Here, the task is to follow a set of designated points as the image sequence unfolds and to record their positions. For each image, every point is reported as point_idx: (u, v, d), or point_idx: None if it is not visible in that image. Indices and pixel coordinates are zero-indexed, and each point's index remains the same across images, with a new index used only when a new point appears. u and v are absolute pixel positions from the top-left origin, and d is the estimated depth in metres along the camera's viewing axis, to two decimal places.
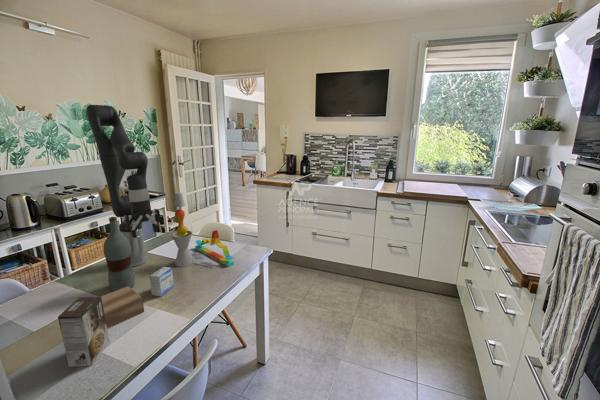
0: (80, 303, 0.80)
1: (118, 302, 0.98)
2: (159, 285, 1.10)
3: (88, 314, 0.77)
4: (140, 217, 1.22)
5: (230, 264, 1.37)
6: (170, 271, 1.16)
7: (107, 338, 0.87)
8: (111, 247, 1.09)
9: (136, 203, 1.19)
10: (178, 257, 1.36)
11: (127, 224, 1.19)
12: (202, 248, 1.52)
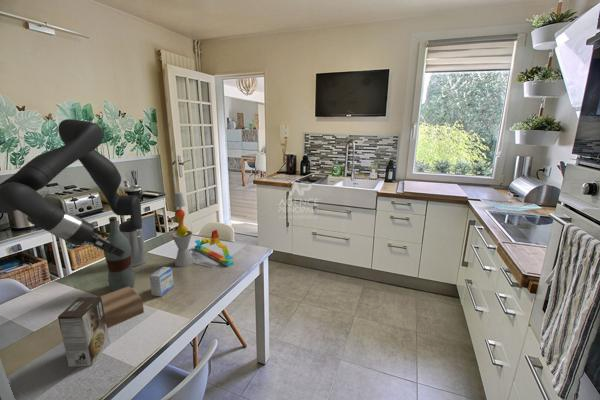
0: (80, 303, 0.80)
1: (118, 302, 0.98)
2: (159, 285, 1.10)
3: (88, 314, 0.77)
4: None
5: (230, 264, 1.37)
6: (170, 271, 1.16)
7: (107, 338, 0.87)
8: None
9: None
10: (178, 257, 1.36)
11: None
12: (202, 248, 1.53)
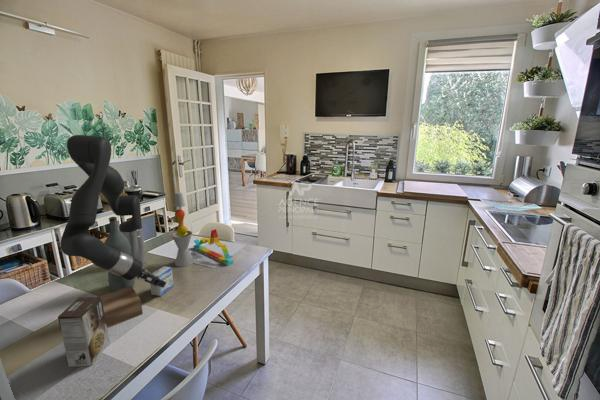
0: (80, 303, 0.80)
1: (117, 302, 0.98)
2: None
3: (88, 314, 0.77)
4: None
5: (229, 263, 1.38)
6: (170, 271, 1.16)
7: (107, 338, 0.87)
8: (111, 247, 1.09)
9: None
10: (178, 257, 1.36)
11: None
12: (200, 247, 1.53)
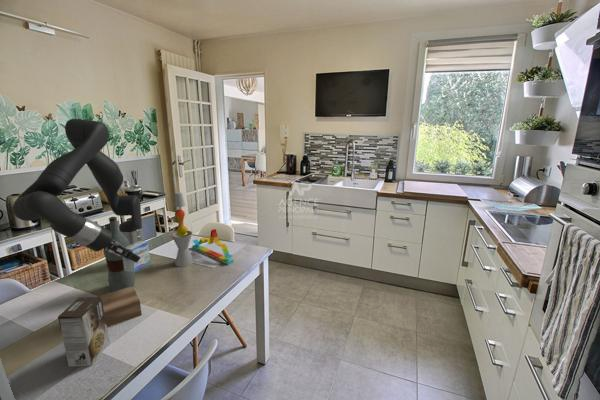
0: (80, 303, 0.80)
1: (117, 302, 0.98)
2: None
3: (88, 314, 0.77)
4: (105, 249, 0.96)
5: (230, 262, 1.39)
6: (146, 245, 1.06)
7: (107, 338, 0.87)
8: None
9: None
10: (178, 257, 1.36)
11: None
12: (200, 247, 1.53)
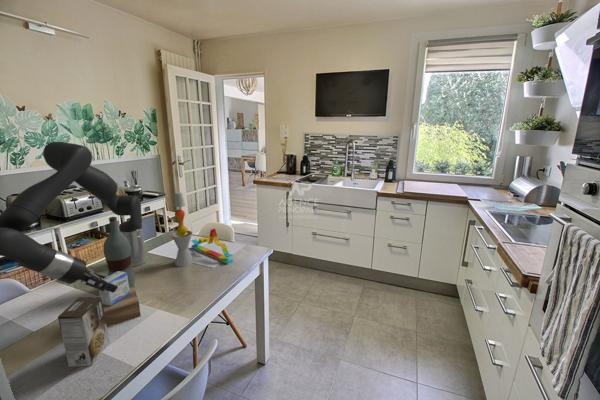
0: (80, 303, 0.80)
1: (116, 303, 0.98)
2: (108, 293, 0.95)
3: (88, 314, 0.77)
4: None
5: (229, 261, 1.40)
6: (124, 276, 1.00)
7: (107, 338, 0.87)
8: (111, 247, 1.09)
9: None
10: (178, 257, 1.36)
11: None
12: (199, 247, 1.54)
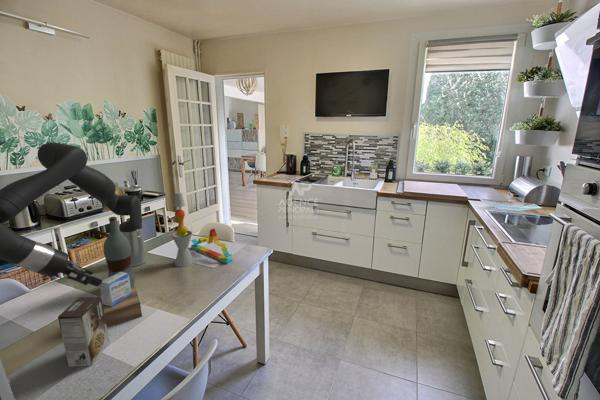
0: (80, 303, 0.80)
1: (117, 304, 0.98)
2: (109, 294, 0.95)
3: (88, 314, 0.77)
4: None
5: (229, 261, 1.40)
6: (126, 277, 1.00)
7: (107, 338, 0.87)
8: (111, 247, 1.09)
9: None
10: (178, 257, 1.36)
11: None
12: (199, 247, 1.54)
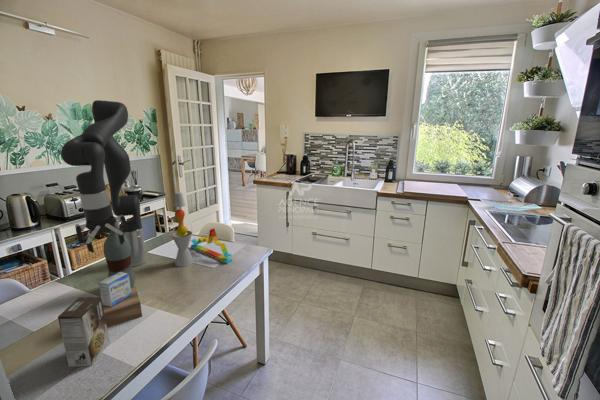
0: (80, 303, 0.80)
1: (118, 304, 0.98)
2: (109, 294, 0.94)
3: (88, 314, 0.77)
4: (97, 228, 0.93)
5: (229, 261, 1.40)
6: (126, 278, 1.00)
7: (107, 338, 0.87)
8: (111, 247, 1.09)
9: (89, 212, 0.90)
10: (178, 257, 1.36)
11: (79, 237, 0.91)
12: (198, 247, 1.54)
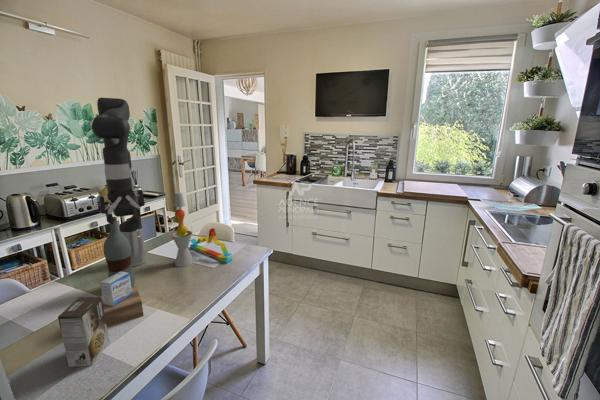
0: (80, 303, 0.80)
1: (119, 303, 0.98)
2: (111, 293, 0.95)
3: (88, 314, 0.77)
4: (118, 199, 0.99)
5: (229, 261, 1.40)
6: (127, 277, 1.00)
7: (107, 338, 0.87)
8: (111, 247, 1.09)
9: (114, 182, 0.96)
10: (178, 257, 1.36)
11: (102, 207, 0.96)
12: (198, 247, 1.54)
